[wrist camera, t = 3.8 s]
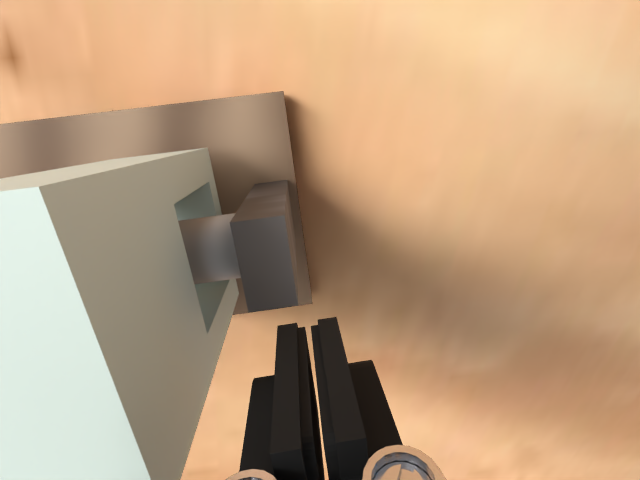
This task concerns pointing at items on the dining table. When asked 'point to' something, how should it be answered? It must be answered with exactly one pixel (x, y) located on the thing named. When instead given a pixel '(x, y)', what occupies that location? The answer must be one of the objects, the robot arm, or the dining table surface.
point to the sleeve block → (106, 318)
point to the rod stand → (229, 173)
